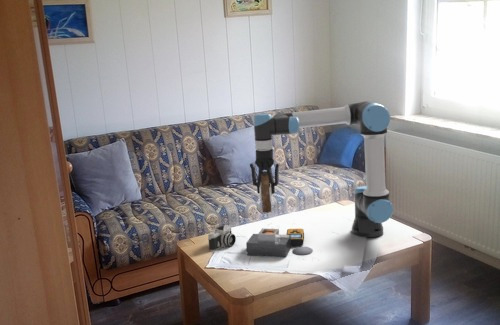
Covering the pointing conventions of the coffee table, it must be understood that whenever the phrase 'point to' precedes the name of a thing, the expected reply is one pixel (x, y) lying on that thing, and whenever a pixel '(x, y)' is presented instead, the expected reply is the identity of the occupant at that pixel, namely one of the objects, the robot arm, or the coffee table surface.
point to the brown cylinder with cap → (265, 192)
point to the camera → (221, 238)
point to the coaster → (302, 250)
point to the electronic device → (296, 236)
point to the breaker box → (269, 244)
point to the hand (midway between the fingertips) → (266, 200)
